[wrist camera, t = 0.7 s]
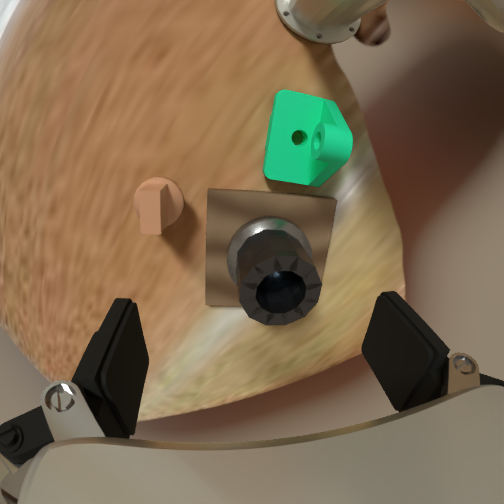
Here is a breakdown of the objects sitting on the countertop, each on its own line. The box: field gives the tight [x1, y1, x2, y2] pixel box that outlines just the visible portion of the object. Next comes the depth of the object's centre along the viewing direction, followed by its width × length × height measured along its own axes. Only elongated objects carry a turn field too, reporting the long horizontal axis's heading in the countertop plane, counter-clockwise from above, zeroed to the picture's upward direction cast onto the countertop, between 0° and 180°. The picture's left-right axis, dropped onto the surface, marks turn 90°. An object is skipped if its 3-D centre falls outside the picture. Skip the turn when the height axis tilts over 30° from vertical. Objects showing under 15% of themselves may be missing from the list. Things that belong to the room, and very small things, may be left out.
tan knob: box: [134, 177, 184, 234], centre depth 33 cm, size 6×6×9 cm
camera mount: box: [263, 90, 353, 187], centre depth 31 cm, size 12×8×10 cm, turn 172°
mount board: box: [206, 189, 337, 306], centre depth 41 cm, size 18×18×2 cm
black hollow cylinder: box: [227, 216, 322, 325], centre depth 36 cm, size 12×12×10 cm
